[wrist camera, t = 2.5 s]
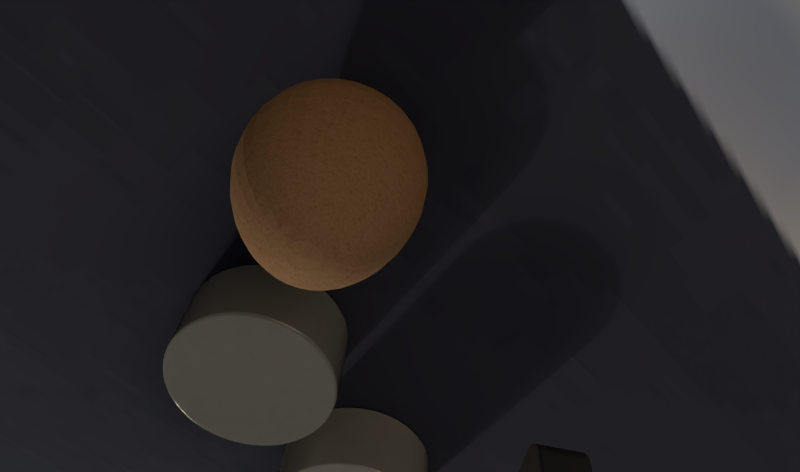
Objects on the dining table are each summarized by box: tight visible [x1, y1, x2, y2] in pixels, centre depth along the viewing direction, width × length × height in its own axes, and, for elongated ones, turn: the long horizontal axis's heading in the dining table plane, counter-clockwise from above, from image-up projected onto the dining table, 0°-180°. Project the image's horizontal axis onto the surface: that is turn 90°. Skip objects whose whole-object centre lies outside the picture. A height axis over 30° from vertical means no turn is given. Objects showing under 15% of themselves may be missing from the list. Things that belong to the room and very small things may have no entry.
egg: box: [230, 78, 428, 291], centre depth 17 cm, size 4×4×6 cm
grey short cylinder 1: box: [163, 265, 348, 446], centre depth 22 cm, size 5×5×2 cm
